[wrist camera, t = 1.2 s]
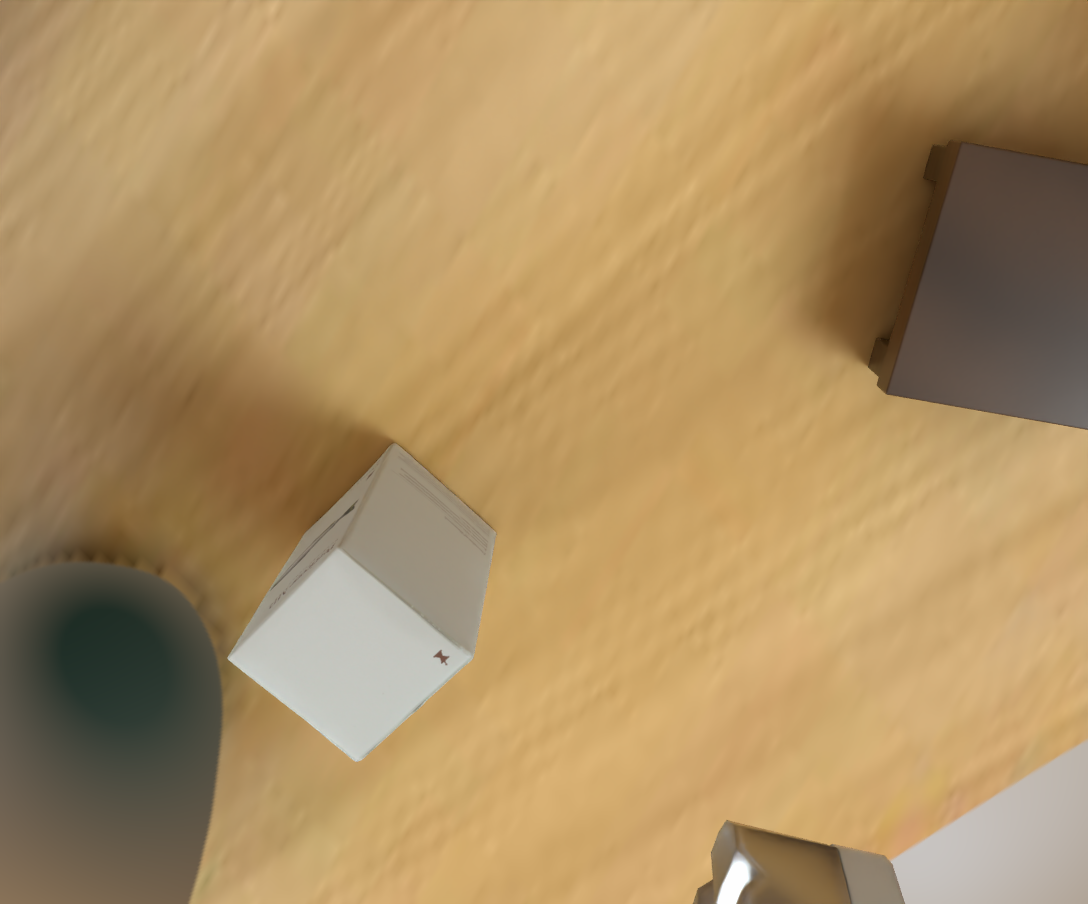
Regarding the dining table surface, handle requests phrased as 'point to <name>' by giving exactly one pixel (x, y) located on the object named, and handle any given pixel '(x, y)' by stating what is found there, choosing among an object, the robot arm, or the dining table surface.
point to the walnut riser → (996, 289)
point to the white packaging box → (373, 606)
